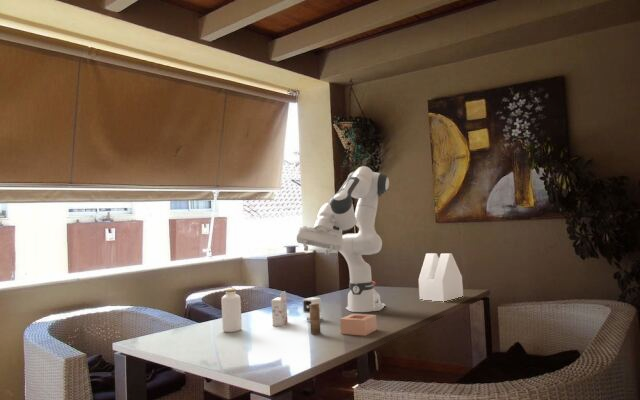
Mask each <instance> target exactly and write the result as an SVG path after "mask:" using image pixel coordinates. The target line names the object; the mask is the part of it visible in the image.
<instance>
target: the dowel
mask: <svg viewBox="0 0 640 400" xmlns="http://www.w3.org/2000/svg"><path fill="white" fill-rule="evenodd" d="M309 306H310V313H309V316H310V320H309V322H310V335H320V334H322V333H321V331H322V330H321V320H320V316H321V315H320V311H319V303H312V304H309Z"/></svg>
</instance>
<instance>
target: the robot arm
mask: <svg viewBox="0 0 640 400" xmlns="http://www.w3.org/2000/svg"><path fill="white" fill-rule="evenodd" d="M389 186H390V180H389V176H388V175H387V174H386V173H383V172H375V171H373V170H372V169H371V168H370V167H368V166H365V165H364V166H363V165H362V166H359V167H357V169H356V170H354V171H351V172H349V174H348V175H347V178H346V180H345V181H344V183H343V184H342V185H341V187H339V190H338V191H337V192H336V193H334V194H333V195H332V197H331V198H330V199H329V202H326V203H324V204H323V205H322V206H321V207H320V209H318V210H319V211H318V213H317V216H316V220H315V222H314V225H313V227H309V226H302V227H299V229H298V233H297V234H296V242H297V243H298V244H303V248H304V249H303V251H305V252H308V250H309V246H313V247H318V248H322V249H326V250H325V255H326V256H329V255H330V253H332V252H333V251H338V252H339V253H340V254H341V255H342V256H343V257H344V259H345V261H346V263H347V267H348V271H349V285H348V287H349V290H350V291H349V292H348V293H347V306H346V307H345V310H347V311H349V312H350V313H351V312H353V313H369V312H377V311H378V312H379V311H381V310H382V309H383V308H384V306H385V307H386V303H382V302H381V296H380V293H378V292H377V291H376V289H375V285H376V281H373V280H372V279H373V278H372V267H371V265H370V263H369V262H368V263H367V262H366V260H365V259H364V258H363V255H364V256H365V255H367V256H370V255H375V254H377V253H380V251H381V250H382V247H383V240H382V238H381V236H380V235H379V234H378V233H377V231H376V228H375V224H376V223H375V222H376V216H377V212H378V206H379V205H378V204H379V197H381V196H382V195H384V194H385V193H386V192H387V191H388V189H389ZM353 198H354V199H357V203H356V207H355V209H354V204H353ZM355 226H356V227H357V228H358V232H357V233H356V232H355V233H344V234H343V232H347V231H351V230H352V229H353V228H354V227H355Z"/></svg>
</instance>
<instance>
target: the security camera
mask: <svg viewBox="0 0 640 400" xmlns="http://www.w3.org/2000/svg"><path fill="white" fill-rule="evenodd" d="M312 303H319V312H322V310H323V309H322V299H321V298H320V297H313V296H311V297H307V298H303V299H302V311H303V313H305V314H310V306H309V304H312ZM320 319H321V320H323V315H320ZM306 320H307V321H310V315H309V316H307V317H306Z"/></svg>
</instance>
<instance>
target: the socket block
mask: <svg viewBox="0 0 640 400" xmlns="http://www.w3.org/2000/svg"><path fill="white" fill-rule="evenodd" d="M339 321H340V322H339V323H340V334H342V335H353V336H364V337H365V336H367V335H368V336H369V334H371V333H373V332H375V331H377V329H378V326H377V315H376V314H364V313H362V314H361V313H351V314H349V315H346V316H343V317H341V318H340V319H339Z"/></svg>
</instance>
